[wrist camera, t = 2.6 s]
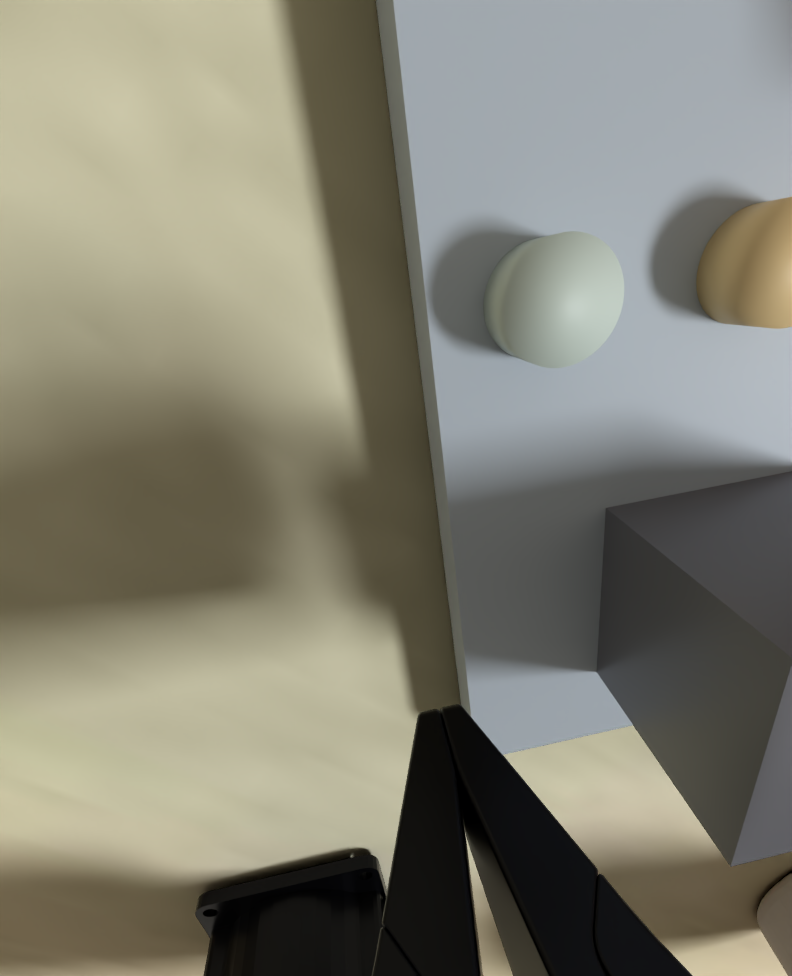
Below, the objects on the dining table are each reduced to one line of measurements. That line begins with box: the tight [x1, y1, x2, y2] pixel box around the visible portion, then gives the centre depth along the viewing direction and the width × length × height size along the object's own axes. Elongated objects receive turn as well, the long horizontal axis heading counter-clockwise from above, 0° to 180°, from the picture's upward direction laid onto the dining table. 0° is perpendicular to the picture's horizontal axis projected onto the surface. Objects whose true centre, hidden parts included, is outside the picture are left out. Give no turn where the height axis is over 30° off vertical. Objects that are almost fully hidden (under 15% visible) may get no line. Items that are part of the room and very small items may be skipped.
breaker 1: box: [596, 471, 792, 867], centre depth 9 cm, size 5×5×4 cm
